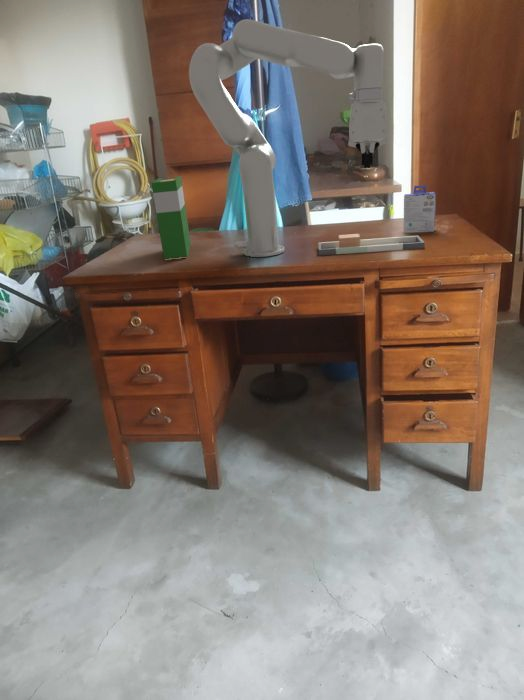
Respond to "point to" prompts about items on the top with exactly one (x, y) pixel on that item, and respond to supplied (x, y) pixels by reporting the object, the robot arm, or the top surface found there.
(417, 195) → the ink cartridge box
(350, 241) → the terracotta block
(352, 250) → the track
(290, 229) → the top surface
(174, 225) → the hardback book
